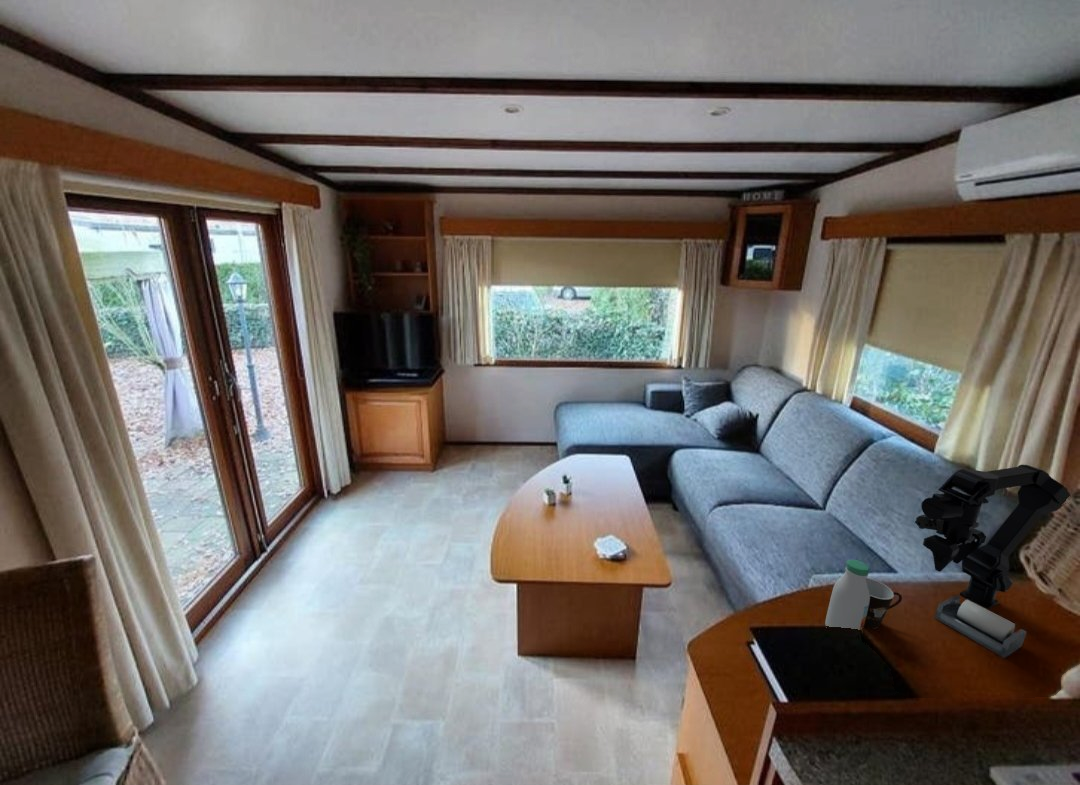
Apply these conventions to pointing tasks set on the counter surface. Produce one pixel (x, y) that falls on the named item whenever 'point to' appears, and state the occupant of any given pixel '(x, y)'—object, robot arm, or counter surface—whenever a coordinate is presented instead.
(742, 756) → the counter surface
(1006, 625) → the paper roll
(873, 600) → the coffee mug
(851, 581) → the milk bottle
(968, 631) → the cradle holder
